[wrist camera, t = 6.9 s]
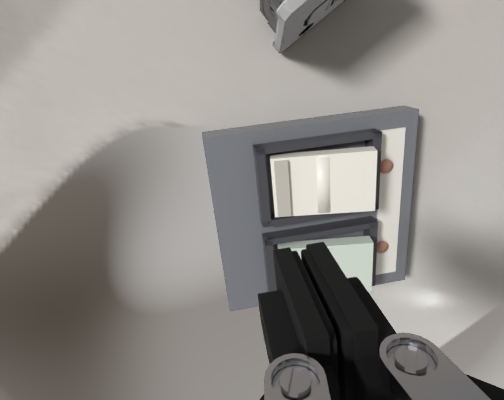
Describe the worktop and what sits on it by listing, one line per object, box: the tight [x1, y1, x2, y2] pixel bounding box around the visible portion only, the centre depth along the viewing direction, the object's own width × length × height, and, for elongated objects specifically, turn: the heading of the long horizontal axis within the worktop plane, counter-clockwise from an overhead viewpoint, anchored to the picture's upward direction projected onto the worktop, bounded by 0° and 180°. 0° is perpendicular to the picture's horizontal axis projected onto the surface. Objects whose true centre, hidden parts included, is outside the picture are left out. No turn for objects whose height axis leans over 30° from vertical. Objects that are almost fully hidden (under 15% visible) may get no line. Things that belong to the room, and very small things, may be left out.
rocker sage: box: [278, 236, 374, 292], centre depth 35 cm, size 9×6×2 cm, turn 96°
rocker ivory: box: [270, 146, 377, 217], centre depth 31 cm, size 9×6×2 cm, turn 96°
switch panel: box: [202, 106, 419, 311], centre depth 36 cm, size 20×19×4 cm
